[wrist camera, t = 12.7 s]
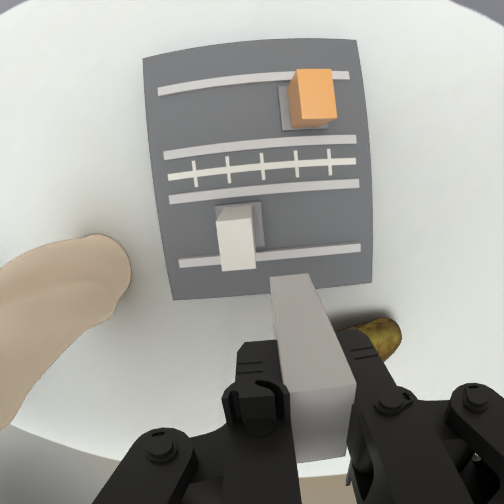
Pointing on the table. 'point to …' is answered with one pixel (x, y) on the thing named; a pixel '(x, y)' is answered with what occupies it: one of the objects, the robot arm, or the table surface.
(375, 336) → the potato
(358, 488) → the robot arm
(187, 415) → the table surface
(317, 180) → the console
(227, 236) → the fader
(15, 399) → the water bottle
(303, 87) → the fader
